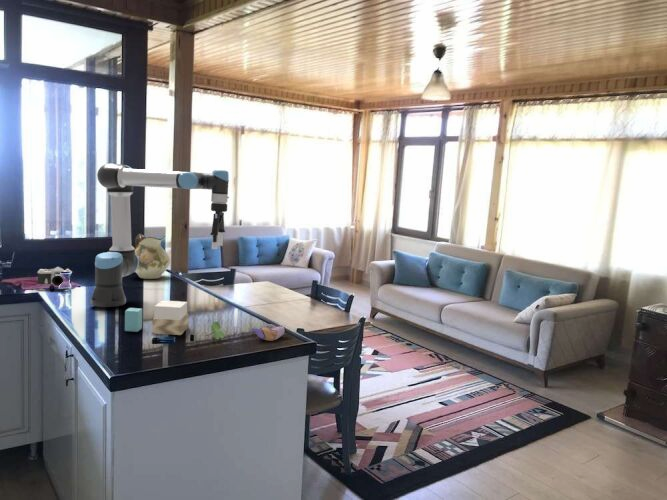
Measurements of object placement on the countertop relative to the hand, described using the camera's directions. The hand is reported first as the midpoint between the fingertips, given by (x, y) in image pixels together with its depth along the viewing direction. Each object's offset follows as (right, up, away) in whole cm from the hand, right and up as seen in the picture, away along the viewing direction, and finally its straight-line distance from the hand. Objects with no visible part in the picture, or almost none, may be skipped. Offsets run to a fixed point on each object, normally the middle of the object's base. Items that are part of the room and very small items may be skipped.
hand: (217, 247), depth 257 cm
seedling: (+6, -35, -49) cm, 61 cm away
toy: (+25, -33, -52) cm, 66 cm away
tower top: (-9, -27, -45) cm, 53 cm away
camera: (-90, -20, +23) cm, 95 cm away
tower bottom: (-9, -33, -44) cm, 56 cm away
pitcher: (-54, -17, +61) cm, 83 cm away
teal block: (-23, -33, -46) cm, 61 cm away
